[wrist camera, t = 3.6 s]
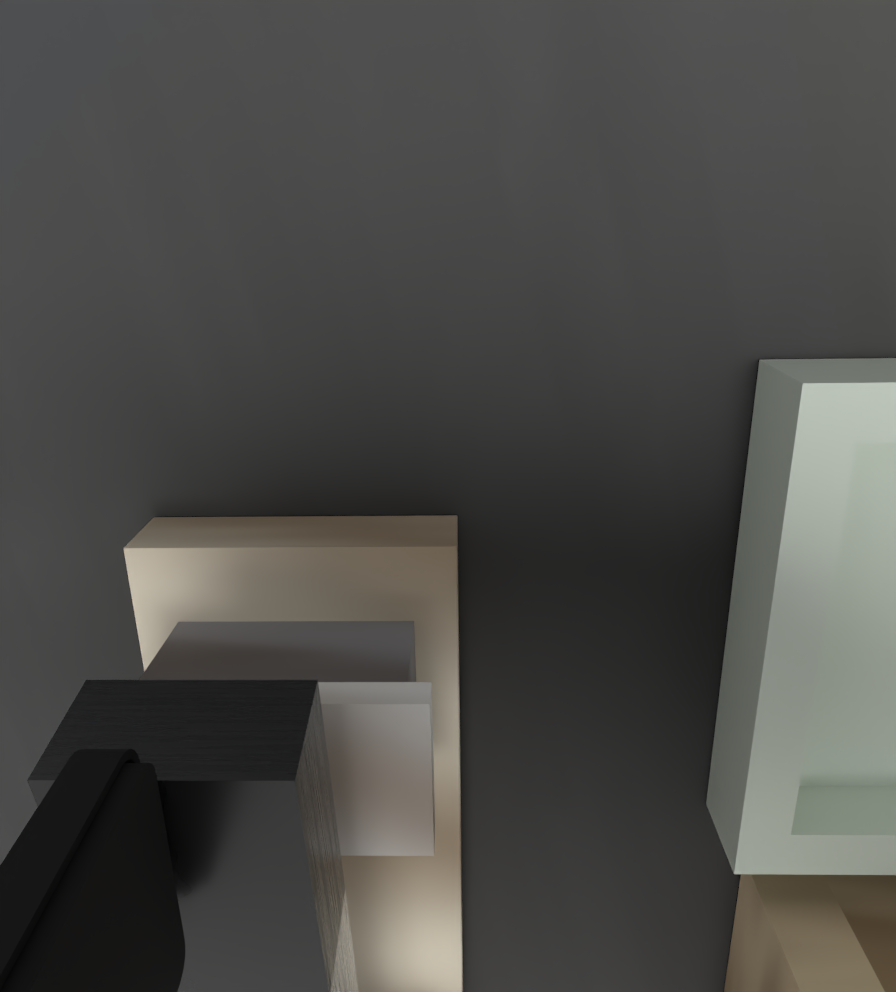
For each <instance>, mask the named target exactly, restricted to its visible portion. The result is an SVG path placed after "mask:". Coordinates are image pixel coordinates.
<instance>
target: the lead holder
mask: <svg viewBox="0 0 896 992" xmlns="http://www.w3.org/2000/svg"><path fill="white" fill-rule="evenodd" d="M724 992H896V875H784V874H741V877H740V884H739V891H738V898H737V905H736V912H735V919H734V925H733V932H732V939H731V946H730V953H729V960H728V967H727V974H726V981H725V988H724Z"/></svg>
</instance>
